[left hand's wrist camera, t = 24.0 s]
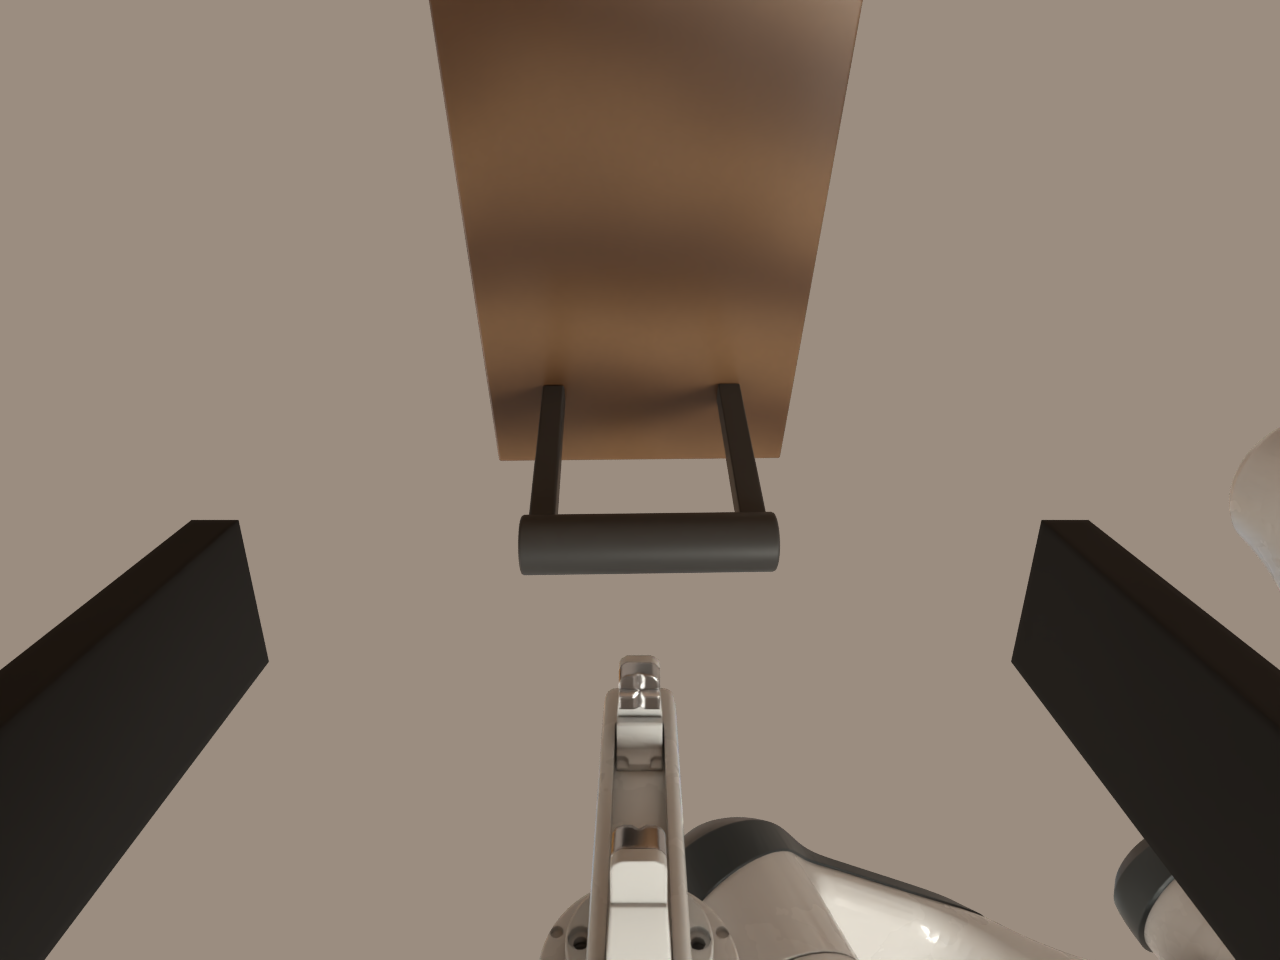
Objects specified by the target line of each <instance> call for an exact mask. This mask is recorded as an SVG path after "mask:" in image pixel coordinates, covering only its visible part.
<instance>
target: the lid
mask: <svg viewBox="0 0 1280 960" xmlns="http://www.w3.org/2000/svg"><path fill="white" fill-rule="evenodd" d="M862 2H863V0H429V3H430V10H431V17H432V23H433V30H434V36H435V42H436V49H437V56H438V62H439V69H440V75H441V82H442V88H443V95H444V102H445V108H446V115H447V121H448V128H449V134H450V141H451V147H452V154H453V160H454V167H455V173H456V180H457V186H458V193H459V199H460V206H461V213H462V219H463V226H464V232H465V239H466V245H467V252H468V258H469V265H470V271H471V278H472V284H473V291H474V297H475V304H476V310H477V317H478V324H479V330H480V337H481V343H482V349H483V356H484V362H485V369H486V376H487V382H488V389H489V395H490V402H491V408H492V415H493V421H494V428H495V434H496V441H497V448H498V454H499V460H501V461H517V460H535V464H534V474H533V483H532V493H531V502H530V512H529V515H523V516H522V517H521V520H520V524H519V536H518V554H519V565H520V570H521V573H522V574H523V575H565V574H633V573H634V574H635V573H704V572H772V571H775V570H776V568H777V566H778V562H779V555H780V535H779V527H778V522H777V518H776V516H775V514H774V513H772V512H765V507H764V502H763V497H762V492H761V487H760V482H759V477H758V472H757V467H756V462H755V458H779V457H780V453H781V447H782V442H783V436H784V431H785V425H786V420H787V414H788V409H789V403H790V398H791V392H792V387H793V381H794V376H795V370H796V365H797V359H798V354H799V348H800V343H801V337H802V332H803V326H804V321H805V315H806V310H807V304H808V299H809V293H810V288H811V282H812V277H813V271H814V266H815V260H816V255H817V249H818V244H819V238H820V233H821V227H822V222H823V216H824V211H825V205H826V200H827V194H828V189H829V183H830V178H831V172H832V167H833V161H834V156H835V150H836V145H837V139H838V134H839V128H840V123H841V117H842V112H843V106H844V101H845V95H846V90H847V84H848V79H849V73H850V68H851V62H852V56H853V51H854V45H855V40H856V35H857V29H858V24H859V18H860V12H861V7H862ZM713 458H726V461H727V467H728V474H729V479H730V486H731V492H732V498H733V504H734V510H735V512H720V513H637V514H558V503H559V489H560V474H561V460H613V459H614V460H616V459H713Z"/></svg>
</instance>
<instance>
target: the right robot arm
mask: <svg viewBox="0 0 1280 960" xmlns="http://www.w3.org/2000/svg"><path fill="white" fill-rule="evenodd" d="M1229 510H1230V516H1231V521H1232V524H1233V526H1234V528H1235V530H1236V532H1237V533H1238V535H1239V536H1240V537H1241V538H1242V539H1243V540H1244V541H1245V542H1246V543H1247V545H1248V546H1249V547H1250V548H1251V549H1252V550H1253V552H1254V553H1255V554H1256V555H1257V556H1258V558H1259V559H1260V561H1261V562H1262V563H1263V565H1264V566H1265V567H1266V569H1267V570H1268V572H1269V573H1270V575H1271V577H1272V578H1273V580H1274V582H1275V583H1276V585H1277V587H1278V589H1279V591H1280V427H1279V428H1278V429H1276V430H1274V431H1273V432H1271V433H1270V434H1268V435H1267V436H1266V437H1264V438H1263V439H1262V440H1260V441H1259V442H1258V443H1257V444H1256V445H1255V446H1254V447H1253V448H1252V449H1251V450H1250V451H1249V452H1248V454H1247V455H1246V456H1245V458H1244V459H1243V460H1242V462H1241V464H1240V465H1239V467H1238V469H1237V471H1236V473H1235V475H1234V478H1233V481H1232V484H1231V489H1230V496H1229ZM1114 902H1115V905H1116V907H1117V909H1118V911H1119V913H1120V914H1121V916H1122V918H1123V919H1124V921H1125V923H1126V924H1127V926H1128V927H1129V929H1130V930H1131V931H1132V933H1133V934H1134V936H1135V937H1136V938H1137V940H1138V941H1139V942H1140V944H1141V945H1142V946H1143V947H1144V948H1145V949H1146V950H1148V951H1150V952H1153V953H1154V954H1155V955H1156V957H1157V958H1158V959H1159V960H1235V958H1234V957H1233V956H1232V954H1231V953H1230V952H1229V950H1228V949H1227V948H1226V946H1225V945H1224V944H1223V942H1222V941H1221V940H1220V938H1219V937H1218V936H1217V934H1216V933H1215V932H1214V930H1213V929H1212V928H1211V927H1210V925H1209V924H1208V923H1207V921H1206V920H1205V919H1204V917H1203V916H1202V915H1201V913H1200V912H1199V911H1198V909H1197V908H1196V907H1195V905H1194V904H1193V903H1192V901H1191V900H1190V899H1189V897H1188V896H1187V895H1186V893H1185V892H1184V891H1183V889H1182V888H1181V887H1180V885H1179V884H1178V883H1177V881H1176V880H1175V879H1174V877H1173V876H1172V875H1171V873H1170V872H1169V871H1168V869H1167V868H1166V867H1165V865H1164V864H1163V863H1162V861H1161V860H1160V859H1159V857H1158V856H1157V855H1156V853H1155V852H1154V851H1153V849H1152V848H1151V847H1150V845H1149V844H1148V843H1147V841H1146V840H1145V839H1143V840H1142V841H1141V842H1140V843H1139V844H1137V845H1136V846H1135V847H1134V848H1133V849H1132V850H1131V851H1130V853H1129V854H1128V855H1127V856H1126V858H1125V859H1124V861H1123V862H1122V864H1121V866H1120V868H1119V870H1118V872H1117V875H1116V879H1115V888H1114ZM539 960H1088V959H1084V958H1081V957H1077V956H1074V955H1071V954H1068V953H1065V952H1062V951H1060V950H1057V949H1055V948H1052V947H1049V946H1047V945H1045V944H1042V943H1040V942H1037V941H1035V940H1032V939H1030V938H1028V937H1025V936H1023V935H1021V934H1019V933H1017V932H1015V931H1012V930H1011V929H1009V928H1006V927H1004V926H1002V925H1000V924H998V923H996V922H994V921H992V920H990V919H988V918H985V917H984V916H982V915H981V914H979V913H977V912H975V911H973V910H971V909H969V908H967V907H965V906H963V905H961V904H959V903H957V902H955V901H953V900H951V899H949V898H946V897H944V896H942V895H939V894H936V893H934V892H931V891H928V890H925V889H922V888H920V887H917V886H914V885H911V884H907V883H904V882H901V881H898V880H895V879H892V878H889V877H886V876H883V875H880V874H877V873H874V872H870V871H867V870H864V869H861V868H858V867H855V866H852V865H849V864H846V863H843V862H839V861H836V860H833V859H830V858H827V857H824V856H822V855H819V854H817V853H814V852H812V851H810V850H808V849H807V848H805V847H804V846H802V845H801V844H800V843H798V842H797V841H796V840H795V839H794V838H793V837H792V836H791V835H790V834H788V833H787V832H786V831H785V830H784V829H782V828H781V827H779V826H778V825H776V824H774V823H771V822H768V821H764V820H759V819H754V818H745V817H731V818H723V819H717V820H713V821H709V822H706V823H704V824H701V825H699V826H697V827H696V828H694V829H692V830H691V831H690V832H688V833H687V834H686V835H685V836H684V827H683V812H682V796H681V781H680V765H679V749H678V733H677V718H676V706H675V700H674V696H673V694H672V692H671V691H670V690H668V689H665V688H660V663H659V661H658V659H657V658H655V657H654V656H651V655H637V656H636V655H632V656H631V655H629V656H626V657H624V658H622V659H621V661H620V663H619V688H615V689H611V690H610V691H608V693H607V694H606V697H605V702H604V710H603V723H602V738H601V752H600V766H599V780H598V794H597V809H596V823H595V837H594V852H593V866H592V880H591V892H590V893H589V894H587V895H585V896H584V897H582V898H581V899H579V900H578V901H577V902H575V903H574V904H573V905H572V906H571V907H569V908H568V909H567V910H566V911H565V912H564V913H563V914H562V916H561V917H560V918H559V919H558V921H557V922H556V923H555V925H554V926H553V928H552V929H551V931H550V933H549V935H548V937H547V939H546V941H545V943H544V946H543V949H542V952H541V956H540V959H539Z"/></svg>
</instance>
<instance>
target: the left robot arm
mask: <svg viewBox="0 0 1280 960" xmlns="http://www.w3.org/2000/svg"><path fill="white" fill-rule="evenodd" d="M268 662H269V660H268V656H267V651H266V647H265V642H264V637H263V633H262V628H261V623H260V619H259V614H258V609H257V604H256V600H255V595H254V590H253V586H252V581H251V576H250V572H249V567H248V562H247V558H246V553H245V548H244V544H243V539H242V534H241V530H240V525H239V521H238V520H191V521H190V522H189V523H187V524H186V525H185V526H183V527H182V528H181V529H180V530H178V531H177V532H176V533H175V534H173V535H172V536H171V537H169V538H168V539H167V540H166V541H164V542H163V543H162V544H161V545H159V546H158V547H157V548H155V549H154V550H153V551H152V552H150V553H149V554H148V555H146V556H145V557H144V558H143V559H141V560H140V561H139V562H138V563H136V564H135V565H134V566H132V567H131V568H130V569H129V570H127V571H126V572H125V573H124V574H122V575H121V576H120V577H118V578H117V579H116V580H115V581H113V582H112V583H111V584H109V585H108V586H107V587H106V588H104V589H103V590H102V591H101V592H99V593H98V594H97V595H95V596H94V597H93V598H92V599H90V600H89V601H88V602H87V603H85V604H84V605H83V606H81V607H80V608H79V609H78V610H76V611H75V612H74V613H73V614H71V615H70V616H69V617H67V618H66V619H65V620H64V621H62V622H61V623H60V624H59V625H57V626H56V627H55V628H53V629H52V630H51V631H50V632H48V633H47V634H46V635H45V636H43V637H42V638H41V639H39V640H38V641H37V642H36V643H34V644H33V645H32V646H30V647H29V648H28V649H27V650H25V651H24V652H23V653H22V654H20V655H19V656H18V657H16V658H15V659H14V660H13V661H11V662H10V663H9V664H8V665H6V666H5V667H4V668H2V669H1V670H0V960H45V958H46V957H47V956H48V954H49V953H50V952H51V950H52V949H53V948H54V946H55V945H56V944H57V942H58V941H59V940H60V938H61V937H62V936H63V934H64V933H65V932H66V930H67V929H68V928H69V926H70V925H71V924H72V923H73V921H74V920H75V919H76V917H77V916H78V915H79V913H80V912H81V911H82V909H83V908H84V906H85V905H86V904H87V903H88V901H89V900H90V899H91V897H92V896H93V895H94V893H95V892H96V891H97V889H98V888H99V887H100V885H101V884H102V883H103V881H104V880H105V879H106V877H107V876H108V875H109V873H110V872H111V871H112V869H113V868H114V867H115V865H116V864H117V863H118V861H119V860H120V859H121V857H122V856H123V855H124V853H125V852H126V851H127V849H128V848H129V847H130V845H131V844H132V843H133V841H134V840H135V839H136V837H137V836H138V835H139V833H140V832H141V831H142V829H143V828H144V827H145V825H146V824H147V823H148V822H149V820H150V819H151V817H152V816H153V815H154V814H155V812H156V811H157V810H158V808H159V807H160V806H161V804H162V803H163V802H164V800H165V799H166V798H167V796H168V795H169V794H170V792H171V791H172V790H173V788H174V787H175V786H176V784H177V783H178V782H179V780H180V779H181V778H182V776H183V775H184V774H185V772H186V771H187V770H188V768H189V767H190V766H191V764H192V763H193V762H194V760H195V759H196V758H197V756H198V755H199V754H200V752H201V751H202V750H203V748H204V747H205V746H206V744H207V743H208V742H209V740H210V739H211V738H212V736H213V735H214V734H215V732H216V731H217V730H218V729H219V727H220V726H221V725H222V723H223V722H224V721H225V719H226V718H227V717H228V715H229V714H230V713H231V711H232V710H233V709H234V707H235V706H236V705H237V703H238V702H239V701H240V699H241V698H242V697H243V695H244V694H245V693H246V691H247V690H248V689H249V687H250V686H251V685H252V683H253V682H254V681H255V679H256V678H257V677H258V675H259V674H260V673H261V671H262V670H263V669H264V667H265V666H266V665H267V663H268ZM1011 662H1012V663H1013V665H1014V666H1015V667H1016V669H1017V670H1018V671H1019V673H1020V674H1021V675H1022V677H1023V678H1024V679H1025V681H1026V682H1027V683H1028V685H1029V686H1030V687H1031V689H1032V690H1033V691H1034V693H1035V694H1036V695H1037V697H1038V698H1039V699H1040V701H1041V702H1042V703H1043V704H1044V706H1045V707H1046V709H1047V710H1048V711H1049V712H1050V714H1051V715H1052V717H1053V718H1054V719H1055V721H1056V722H1057V723H1058V725H1059V726H1060V727H1061V728H1062V730H1063V731H1064V732H1065V734H1066V735H1067V736H1068V738H1069V739H1070V740H1071V742H1072V743H1073V744H1074V746H1075V747H1076V748H1077V750H1078V751H1079V752H1080V754H1081V755H1082V756H1083V758H1084V759H1085V760H1086V762H1087V763H1088V764H1089V766H1090V767H1091V768H1092V770H1093V771H1094V772H1095V774H1096V775H1097V776H1098V778H1099V779H1100V780H1101V782H1102V783H1103V784H1104V786H1105V787H1106V788H1107V790H1108V791H1109V792H1110V794H1111V795H1112V796H1113V798H1114V799H1115V800H1116V802H1117V803H1118V804H1119V805H1120V807H1121V808H1122V810H1123V811H1124V812H1125V814H1126V815H1127V816H1128V818H1129V819H1130V820H1131V822H1132V823H1133V824H1134V826H1135V827H1136V828H1137V829H1138V831H1139V832H1140V833H1141V835H1142V836H1143V837H1144V839H1145V840H1146V841H1147V843H1148V844H1149V845H1150V847H1151V848H1152V849H1153V851H1154V852H1155V853H1156V855H1157V856H1158V857H1159V859H1160V860H1161V861H1162V863H1163V864H1164V865H1165V867H1166V868H1167V869H1168V871H1169V872H1170V873H1171V875H1172V876H1173V877H1174V879H1175V880H1176V881H1177V883H1178V884H1179V885H1180V887H1181V888H1182V889H1183V891H1184V892H1185V893H1186V895H1187V896H1188V897H1189V899H1190V900H1191V901H1192V903H1193V904H1194V905H1195V907H1196V908H1197V909H1198V911H1199V912H1200V913H1201V915H1202V916H1203V917H1204V919H1205V920H1206V921H1207V923H1208V924H1209V925H1210V927H1211V928H1212V929H1213V930H1214V932H1215V933H1216V934H1217V936H1218V937H1219V938H1220V940H1221V941H1222V942H1223V944H1224V945H1225V946H1226V948H1227V949H1228V950H1229V952H1230V953H1231V954H1232V956H1233V957H1234V958H1235V960H1280V670H1279V669H1278V668H1276V667H1275V666H1274V665H1272V664H1271V663H1270V662H1269V661H1267V660H1266V659H1265V658H1263V657H1262V656H1261V655H1260V654H1258V653H1257V652H1256V651H1255V650H1253V649H1252V648H1251V647H1250V646H1248V645H1247V644H1246V643H1244V642H1243V641H1242V640H1241V639H1239V638H1238V637H1237V636H1236V635H1234V634H1233V633H1232V632H1230V631H1229V630H1228V629H1227V628H1225V627H1224V626H1223V625H1222V624H1220V623H1219V622H1218V621H1216V620H1215V619H1214V618H1213V617H1211V616H1210V615H1209V614H1207V613H1206V612H1205V611H1204V610H1202V609H1201V608H1200V607H1199V606H1197V605H1196V604H1195V603H1193V602H1192V601H1191V600H1190V599H1188V598H1187V597H1186V596H1185V595H1183V594H1182V593H1181V592H1179V591H1178V590H1177V589H1176V588H1174V587H1173V586H1172V585H1171V584H1169V583H1168V582H1167V581H1165V580H1164V579H1163V578H1162V577H1160V576H1159V575H1158V574H1156V573H1155V572H1154V571H1153V570H1151V569H1150V568H1149V567H1148V566H1146V565H1145V564H1144V563H1142V562H1141V561H1140V560H1139V559H1137V558H1136V557H1135V556H1134V555H1132V554H1131V553H1130V552H1128V551H1127V550H1126V549H1125V548H1123V547H1122V546H1121V545H1120V544H1118V543H1117V542H1116V541H1114V540H1113V539H1112V538H1111V537H1109V536H1108V535H1107V534H1105V533H1104V532H1103V531H1102V530H1100V529H1099V528H1098V527H1096V526H1095V525H1094V524H1093V523H1091V522H1090V521H1089V520H1042V521H1041V525H1040V530H1039V534H1038V539H1037V544H1036V548H1035V553H1034V558H1033V562H1032V567H1031V572H1030V576H1029V581H1028V586H1027V591H1026V595H1025V600H1024V605H1023V609H1022V614H1021V618H1020V623H1019V628H1018V632H1017V637H1016V642H1015V646H1014V651H1013V656H1012V660H1011Z"/></svg>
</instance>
